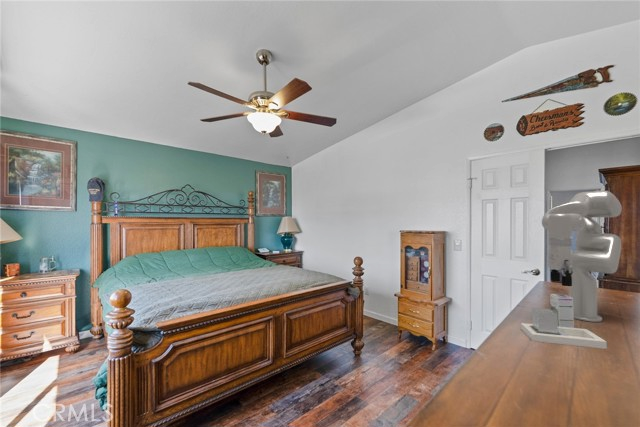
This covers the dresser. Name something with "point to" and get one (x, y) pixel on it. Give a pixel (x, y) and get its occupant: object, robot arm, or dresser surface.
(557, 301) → the syrup box
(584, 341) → the pallet
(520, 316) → the dresser surface
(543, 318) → the metal block
